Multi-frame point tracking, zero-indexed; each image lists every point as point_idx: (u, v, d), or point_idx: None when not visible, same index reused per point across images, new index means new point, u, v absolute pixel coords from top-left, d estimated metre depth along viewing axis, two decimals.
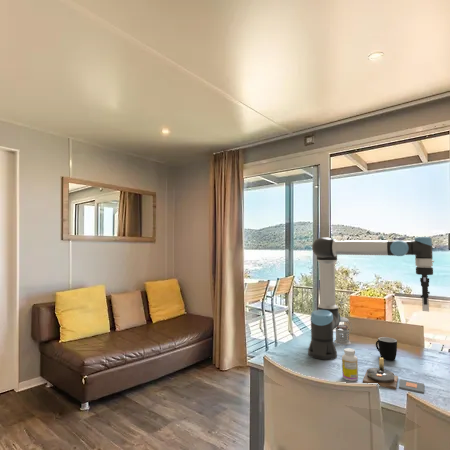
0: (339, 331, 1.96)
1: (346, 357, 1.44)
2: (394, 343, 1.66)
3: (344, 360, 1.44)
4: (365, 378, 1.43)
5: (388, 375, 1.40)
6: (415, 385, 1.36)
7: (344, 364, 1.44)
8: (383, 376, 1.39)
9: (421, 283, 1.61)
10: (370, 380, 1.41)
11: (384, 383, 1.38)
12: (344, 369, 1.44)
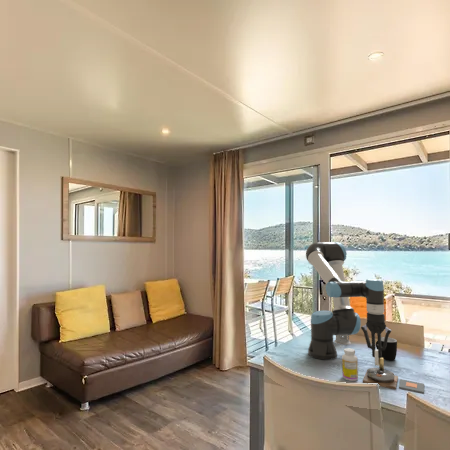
0: None
1: (346, 357, 1.44)
2: (394, 343, 1.66)
3: (344, 360, 1.44)
4: (365, 378, 1.43)
5: (388, 375, 1.40)
6: (415, 385, 1.36)
7: (344, 364, 1.44)
8: (383, 376, 1.39)
9: None
10: (370, 380, 1.41)
11: (384, 383, 1.38)
12: (344, 369, 1.44)
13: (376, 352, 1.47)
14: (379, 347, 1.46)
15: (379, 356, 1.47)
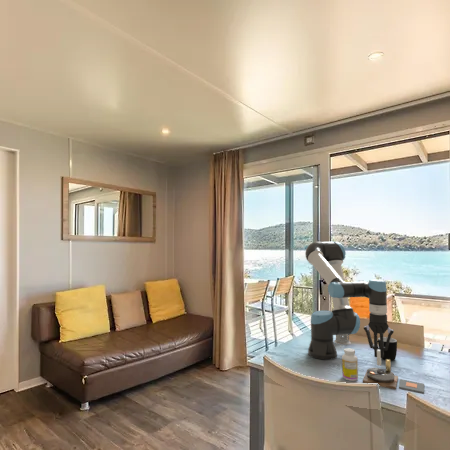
0: None
1: (346, 357, 1.44)
2: (394, 343, 1.66)
3: (344, 360, 1.44)
4: (365, 378, 1.43)
5: (383, 376, 1.40)
6: (415, 385, 1.36)
7: (344, 364, 1.44)
8: (376, 375, 1.41)
9: None
10: (370, 380, 1.41)
11: (384, 383, 1.38)
12: (344, 369, 1.44)
13: (378, 352, 1.48)
14: (381, 347, 1.47)
15: (381, 356, 1.48)
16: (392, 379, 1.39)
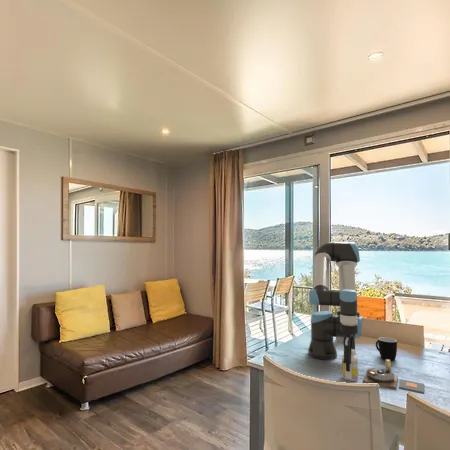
0: None
1: None
2: (394, 343, 1.66)
3: None
4: (365, 378, 1.43)
5: (383, 376, 1.40)
6: (415, 385, 1.36)
7: (344, 364, 1.44)
8: (376, 375, 1.41)
9: None
10: (370, 380, 1.41)
11: (384, 383, 1.38)
12: (344, 369, 1.44)
13: None
14: None
15: None
16: (392, 379, 1.39)
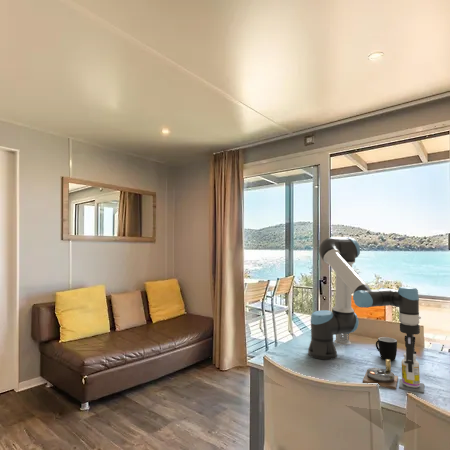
0: None
1: None
2: (394, 343, 1.66)
3: (405, 365, 1.36)
4: (365, 378, 1.43)
5: (383, 376, 1.40)
6: None
7: (405, 370, 1.36)
8: (376, 375, 1.41)
9: (405, 344, 1.36)
10: (370, 380, 1.41)
11: (384, 383, 1.38)
12: (405, 375, 1.36)
13: None
14: (414, 350, 1.43)
15: None
16: (392, 379, 1.39)
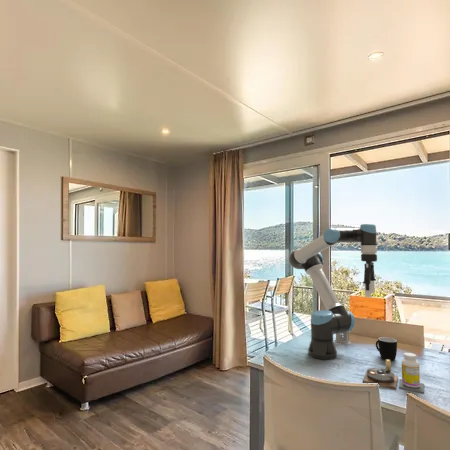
0: None
1: (407, 362, 1.36)
2: (394, 343, 1.66)
3: (405, 365, 1.36)
4: (365, 378, 1.43)
5: (383, 376, 1.40)
6: None
7: (405, 370, 1.36)
8: (376, 375, 1.41)
9: None
10: (370, 380, 1.41)
11: (384, 383, 1.38)
12: (405, 375, 1.36)
13: None
14: (374, 278, 1.70)
15: None
16: (392, 379, 1.39)
